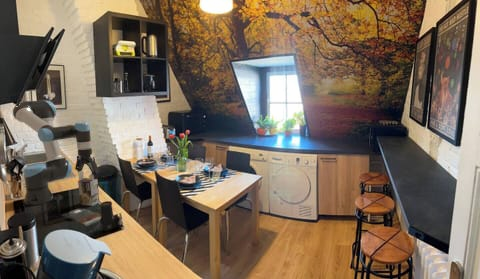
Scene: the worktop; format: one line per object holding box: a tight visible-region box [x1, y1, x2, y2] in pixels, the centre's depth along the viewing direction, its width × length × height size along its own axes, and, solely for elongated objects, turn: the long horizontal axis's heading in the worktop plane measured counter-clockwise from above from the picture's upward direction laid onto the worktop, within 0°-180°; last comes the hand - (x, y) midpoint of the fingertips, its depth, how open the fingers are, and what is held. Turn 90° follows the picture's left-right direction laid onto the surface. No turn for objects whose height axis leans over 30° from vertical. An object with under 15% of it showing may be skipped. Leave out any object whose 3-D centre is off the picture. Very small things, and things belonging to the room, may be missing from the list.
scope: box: [98, 200, 124, 232], centre depth 151 cm, size 8×14×10 cm
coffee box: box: [77, 177, 101, 207], centre depth 182 cm, size 9×6×16 cm
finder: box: [68, 208, 86, 220], centre depth 164 cm, size 6×5×3 cm
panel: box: [61, 207, 101, 227], centre depth 165 cm, size 23×12×1 cm, turn 60°
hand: (88, 182), depth 180 cm, fingers open, 13 cm apart
